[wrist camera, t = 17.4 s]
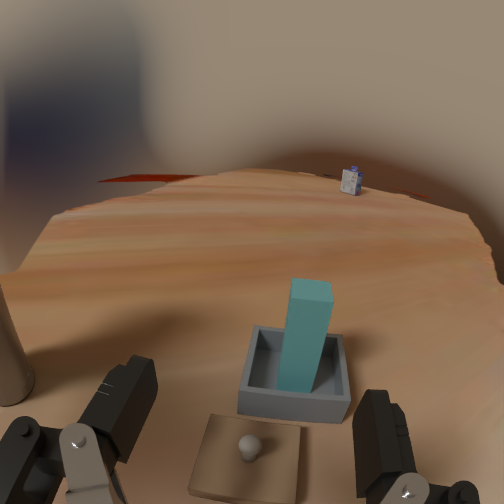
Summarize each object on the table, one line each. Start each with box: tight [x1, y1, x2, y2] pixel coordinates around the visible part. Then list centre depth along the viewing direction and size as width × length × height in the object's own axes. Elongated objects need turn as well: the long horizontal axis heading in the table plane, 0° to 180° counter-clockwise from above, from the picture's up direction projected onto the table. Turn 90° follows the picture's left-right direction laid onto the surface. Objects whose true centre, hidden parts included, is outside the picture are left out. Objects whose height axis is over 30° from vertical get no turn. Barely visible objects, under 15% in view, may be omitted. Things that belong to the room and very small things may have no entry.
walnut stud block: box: [188, 414, 300, 504], centre depth 26 cm, size 10×10×6 cm
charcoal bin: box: [238, 325, 351, 424], centre depth 38 cm, size 13×13×4 cm
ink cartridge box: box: [340, 166, 363, 195], centre depth 156 cm, size 10×6×14 cm, turn 38°
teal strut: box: [276, 278, 334, 393], centre depth 36 cm, size 4×4×14 cm
